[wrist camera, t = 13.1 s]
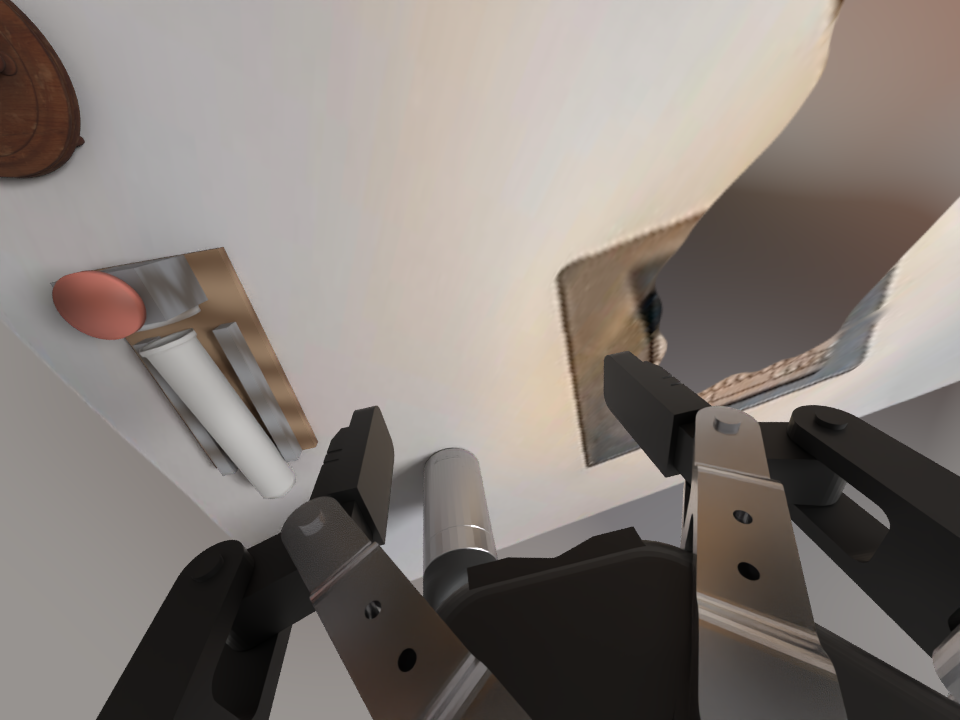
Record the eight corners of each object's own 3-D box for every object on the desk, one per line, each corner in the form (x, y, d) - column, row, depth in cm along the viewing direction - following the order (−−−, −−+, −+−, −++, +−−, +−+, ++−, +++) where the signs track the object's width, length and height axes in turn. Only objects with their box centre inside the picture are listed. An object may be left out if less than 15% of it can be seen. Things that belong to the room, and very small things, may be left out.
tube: (303, 493, 48) (187, 336, 36) (263, 514, 46) (128, 357, 34) (303, 470, 52) (199, 324, 40) (266, 488, 51) (148, 341, 39)
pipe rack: (318, 441, 50) (295, 493, 42) (221, 462, 49) (178, 519, 41) (221, 242, 37) (159, 258, 29) (86, 265, 36) (-18, 289, 28)
